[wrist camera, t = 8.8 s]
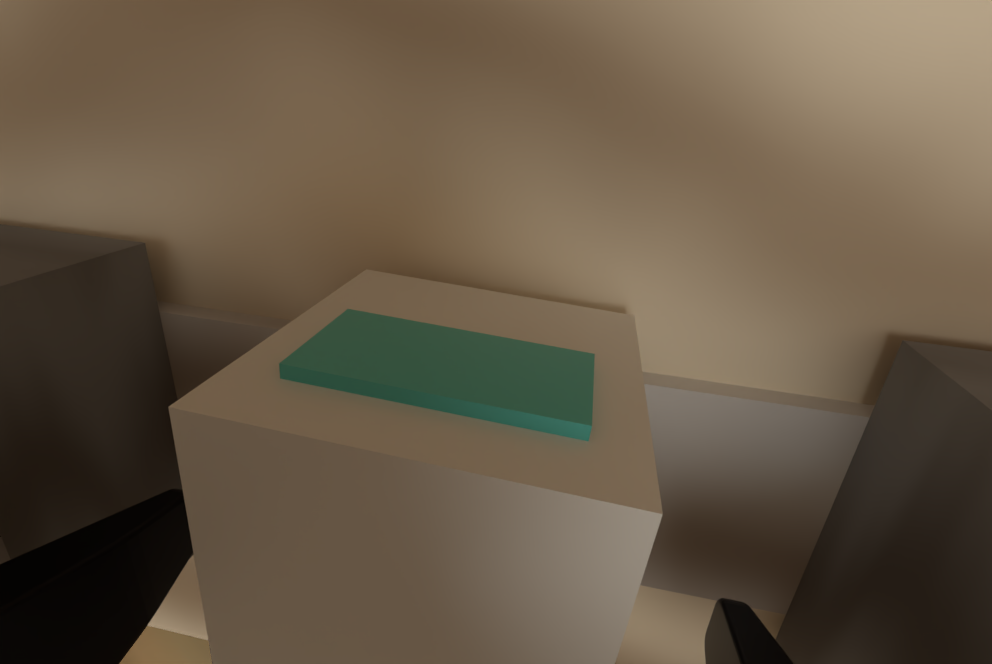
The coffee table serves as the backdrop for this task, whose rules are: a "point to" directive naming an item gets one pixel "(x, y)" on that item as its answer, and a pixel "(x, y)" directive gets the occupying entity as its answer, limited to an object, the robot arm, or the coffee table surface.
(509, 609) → the module block
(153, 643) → the coffee table surface
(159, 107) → the rail panel
